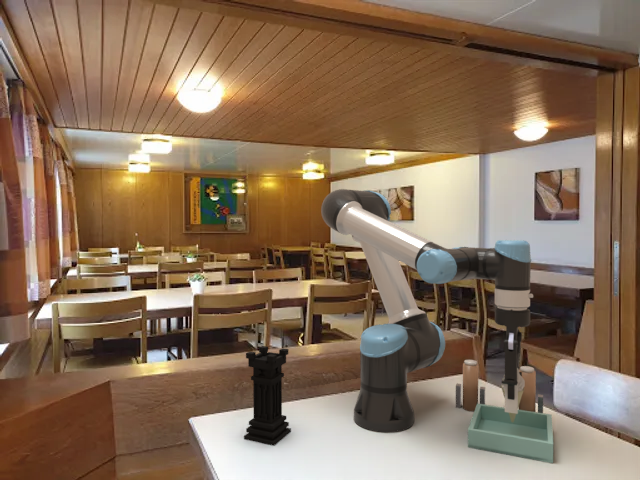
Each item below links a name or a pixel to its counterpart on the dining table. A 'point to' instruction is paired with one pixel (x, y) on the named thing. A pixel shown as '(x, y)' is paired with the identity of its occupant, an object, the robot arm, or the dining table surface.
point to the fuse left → (470, 385)
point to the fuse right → (528, 389)
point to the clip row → (482, 398)
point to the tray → (512, 433)
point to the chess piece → (267, 397)
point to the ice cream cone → (520, 391)
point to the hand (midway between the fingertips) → (511, 407)
